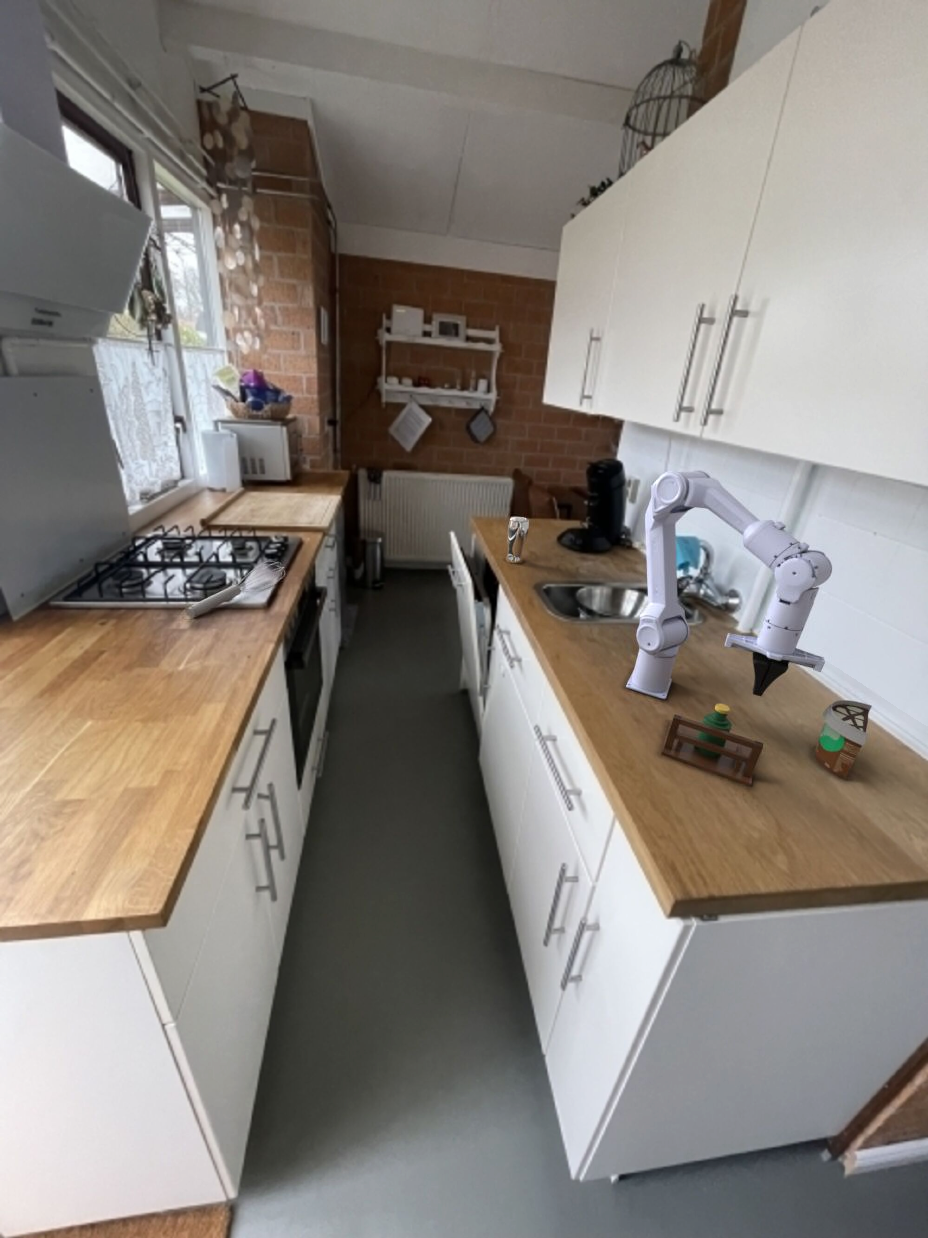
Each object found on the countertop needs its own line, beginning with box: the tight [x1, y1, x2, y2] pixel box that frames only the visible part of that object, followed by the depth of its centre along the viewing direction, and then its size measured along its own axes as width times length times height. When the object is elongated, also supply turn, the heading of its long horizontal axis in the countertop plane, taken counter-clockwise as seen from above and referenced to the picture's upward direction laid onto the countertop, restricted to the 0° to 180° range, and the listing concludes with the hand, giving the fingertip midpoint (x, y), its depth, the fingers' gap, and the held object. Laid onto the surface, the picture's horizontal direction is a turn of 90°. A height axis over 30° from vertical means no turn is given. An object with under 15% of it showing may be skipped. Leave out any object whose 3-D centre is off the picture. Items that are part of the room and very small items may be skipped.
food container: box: [813, 699, 873, 780], centre depth 89 cm, size 12×6×10 cm, turn 141°
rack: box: [660, 713, 764, 787], centre depth 88 cm, size 11×14×7 cm
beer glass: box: [504, 516, 530, 564], centre depth 177 cm, size 7×7×15 cm
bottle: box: [695, 703, 733, 758], centre depth 87 cm, size 4×4×9 cm
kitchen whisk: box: [181, 560, 286, 621], centre depth 130 cm, size 6×34×6 cm, turn 159°
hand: (757, 693), depth 90 cm, fingers closed
